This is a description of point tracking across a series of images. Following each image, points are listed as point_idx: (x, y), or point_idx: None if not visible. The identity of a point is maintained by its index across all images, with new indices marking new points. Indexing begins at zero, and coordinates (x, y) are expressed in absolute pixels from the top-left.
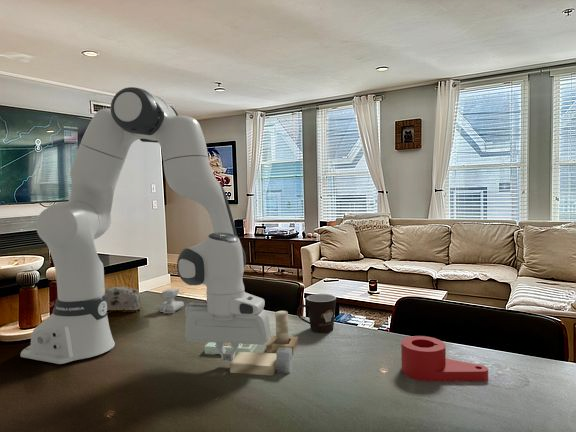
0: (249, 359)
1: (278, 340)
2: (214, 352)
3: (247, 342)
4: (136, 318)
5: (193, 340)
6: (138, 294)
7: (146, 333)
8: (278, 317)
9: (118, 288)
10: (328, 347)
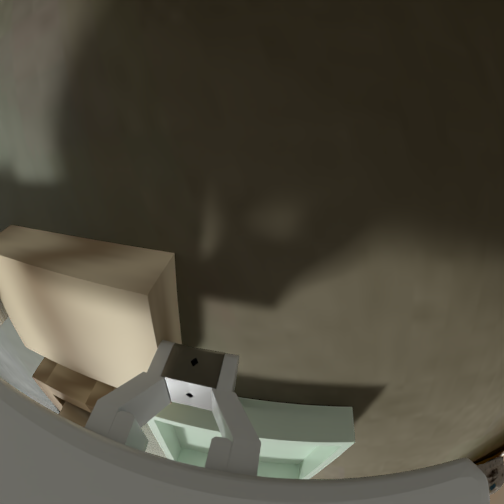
0: (78, 329)
1: (78, 416)
2: (311, 419)
3: (1, 391)
4: None
5: (441, 471)
6: None
7: (474, 443)
8: None
9: (489, 494)
10: (23, 369)
